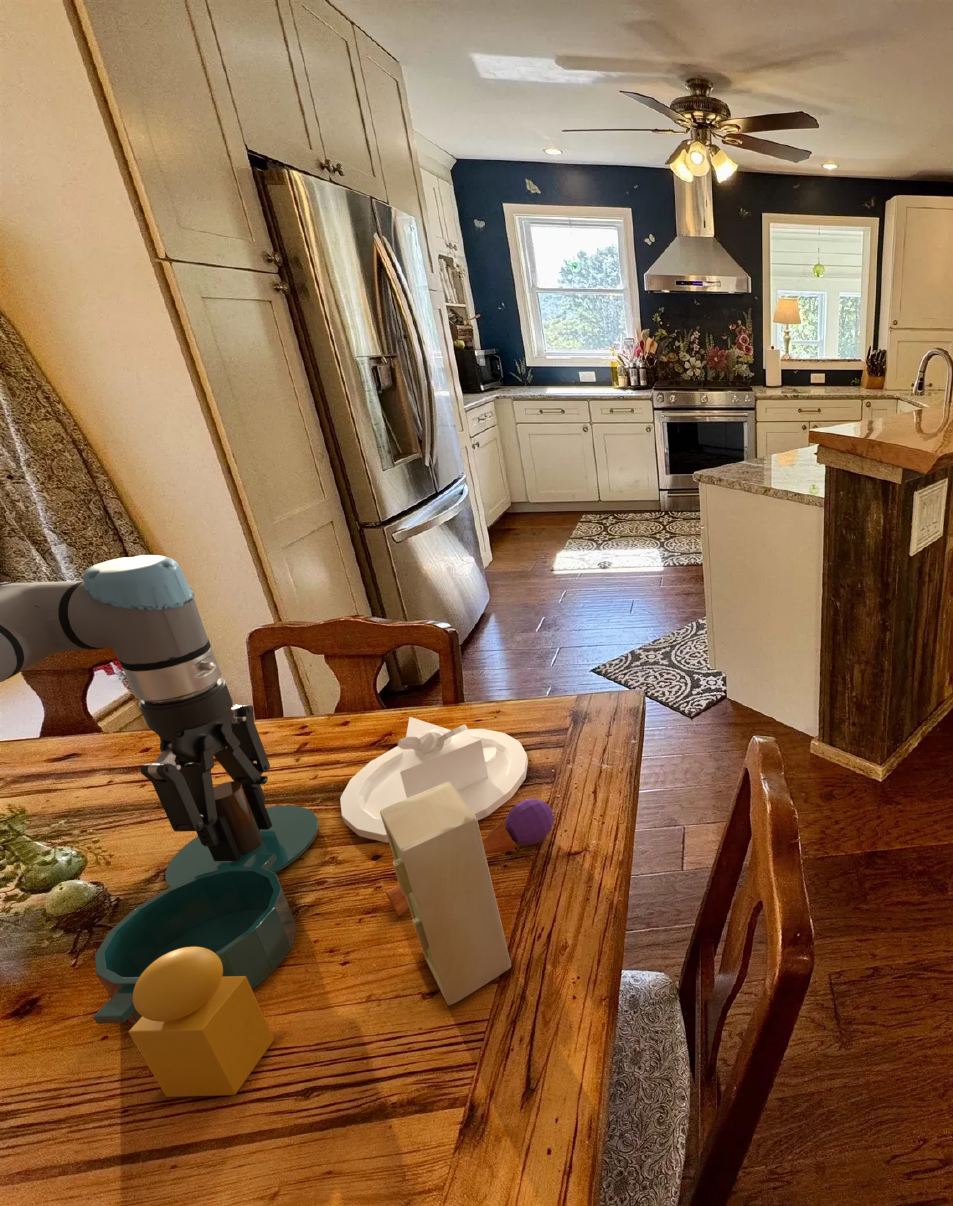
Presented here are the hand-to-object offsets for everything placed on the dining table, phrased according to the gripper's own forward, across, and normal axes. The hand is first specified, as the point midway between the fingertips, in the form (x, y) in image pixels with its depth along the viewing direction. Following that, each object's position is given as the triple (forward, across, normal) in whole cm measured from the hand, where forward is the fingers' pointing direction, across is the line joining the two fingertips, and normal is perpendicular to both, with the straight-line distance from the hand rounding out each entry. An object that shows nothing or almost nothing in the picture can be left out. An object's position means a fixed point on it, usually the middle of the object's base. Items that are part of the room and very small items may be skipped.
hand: (244, 842), depth 83 cm
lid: (+1, 0, 0) cm, 1 cm away
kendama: (+2, -3, -31) cm, 31 cm away
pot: (+2, -16, -8) cm, 18 cm away
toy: (+2, -27, -17) cm, 32 cm away
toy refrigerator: (+2, -17, -35) cm, 39 cm away
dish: (+2, +14, -18) cm, 23 cm away
